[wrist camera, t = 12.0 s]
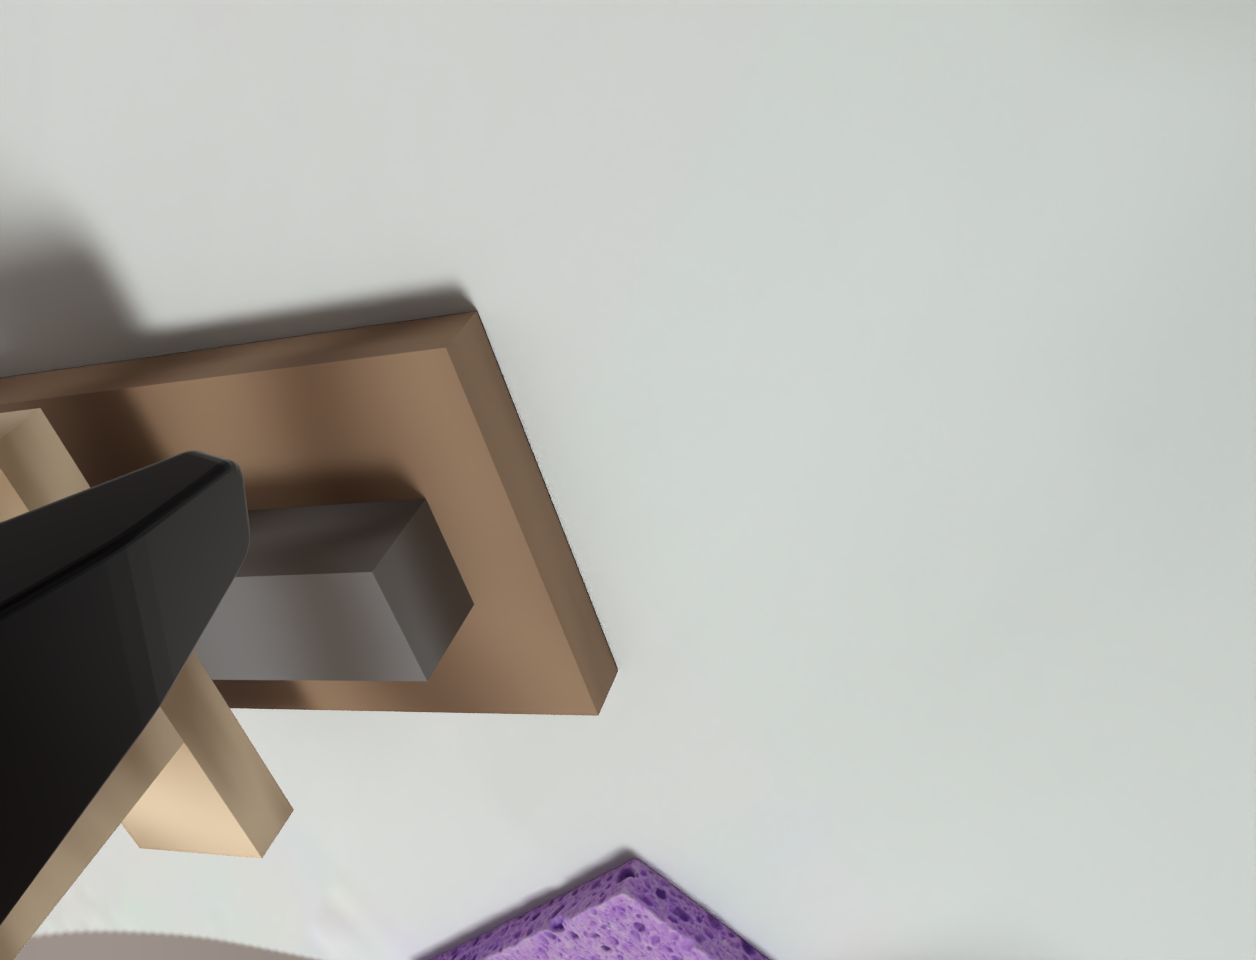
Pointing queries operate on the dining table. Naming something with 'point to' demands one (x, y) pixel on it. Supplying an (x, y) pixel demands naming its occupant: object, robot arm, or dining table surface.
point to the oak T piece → (142, 735)
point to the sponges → (612, 925)
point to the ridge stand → (359, 518)
